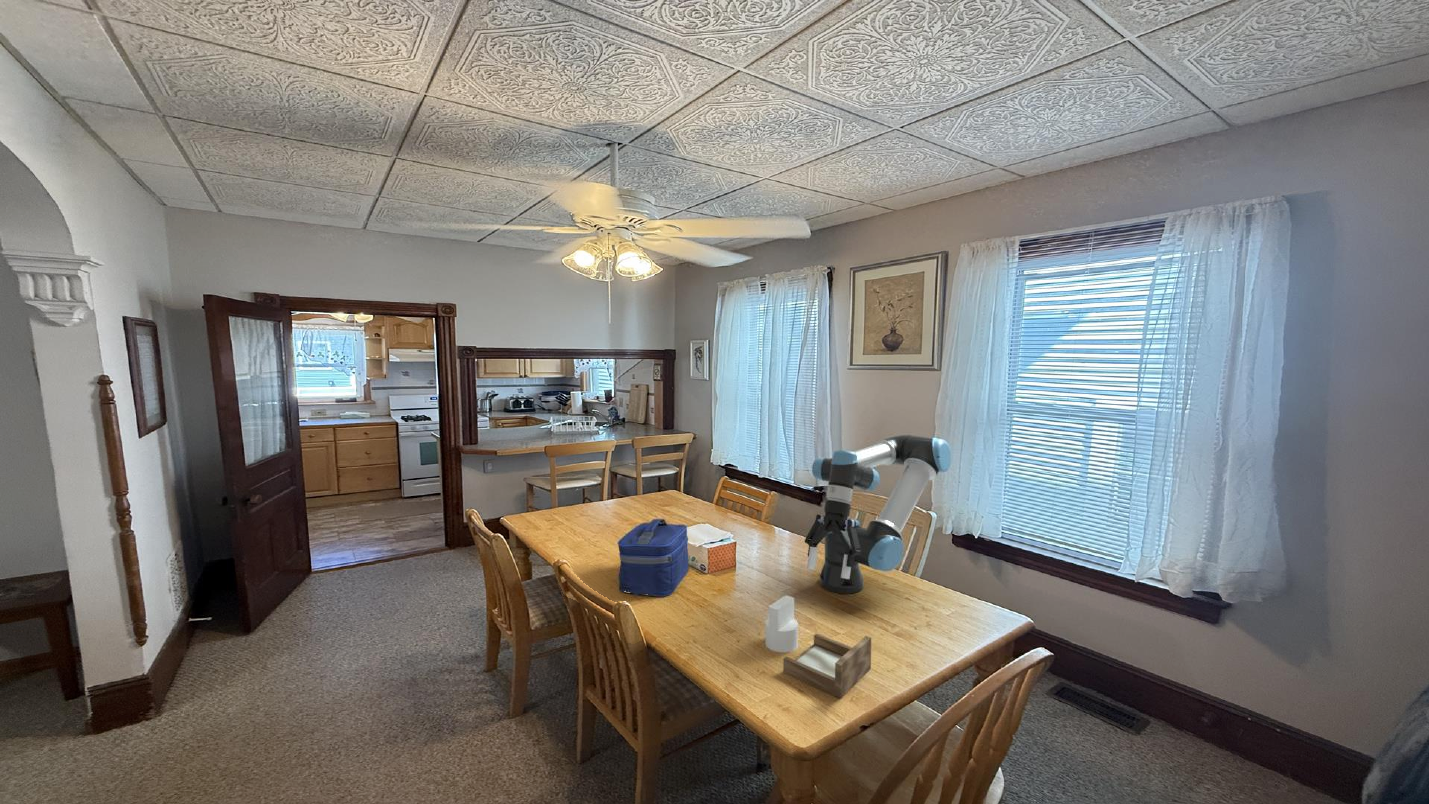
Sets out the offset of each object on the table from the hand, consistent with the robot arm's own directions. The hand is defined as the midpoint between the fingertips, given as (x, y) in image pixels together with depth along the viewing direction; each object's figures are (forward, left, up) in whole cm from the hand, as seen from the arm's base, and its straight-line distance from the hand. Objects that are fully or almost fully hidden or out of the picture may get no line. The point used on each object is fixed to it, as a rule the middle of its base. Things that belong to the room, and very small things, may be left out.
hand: (827, 573), depth 153 cm
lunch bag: (+10, -64, -17) cm, 67 cm away
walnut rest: (+19, +11, -16) cm, 27 cm away
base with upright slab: (+16, -5, -17) cm, 24 cm away
